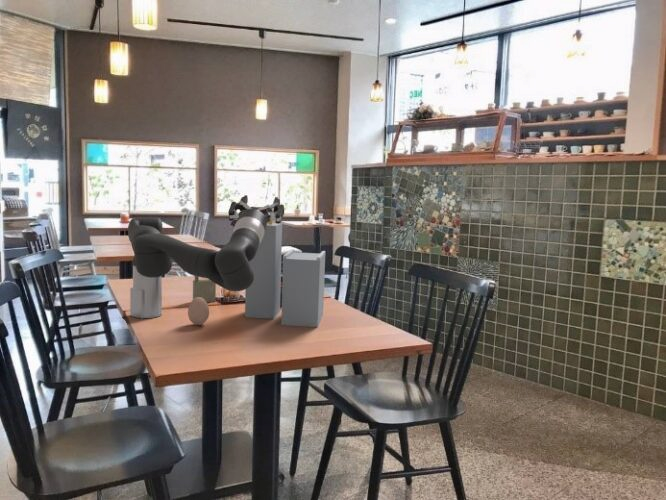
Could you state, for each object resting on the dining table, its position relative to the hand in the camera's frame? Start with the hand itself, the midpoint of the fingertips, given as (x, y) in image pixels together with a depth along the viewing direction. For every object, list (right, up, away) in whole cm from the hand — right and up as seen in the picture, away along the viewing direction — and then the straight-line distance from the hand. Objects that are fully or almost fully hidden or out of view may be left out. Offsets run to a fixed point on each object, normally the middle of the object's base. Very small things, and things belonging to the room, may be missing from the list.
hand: (261, 199), depth 151 cm
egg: (-23, -38, +24) cm, 51 cm away
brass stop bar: (-4, -6, +33) cm, 33 cm away
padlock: (-30, -34, +59) cm, 74 cm away
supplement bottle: (+1, -35, +58) cm, 68 cm away
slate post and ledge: (+3, -38, +38) cm, 53 cm away
